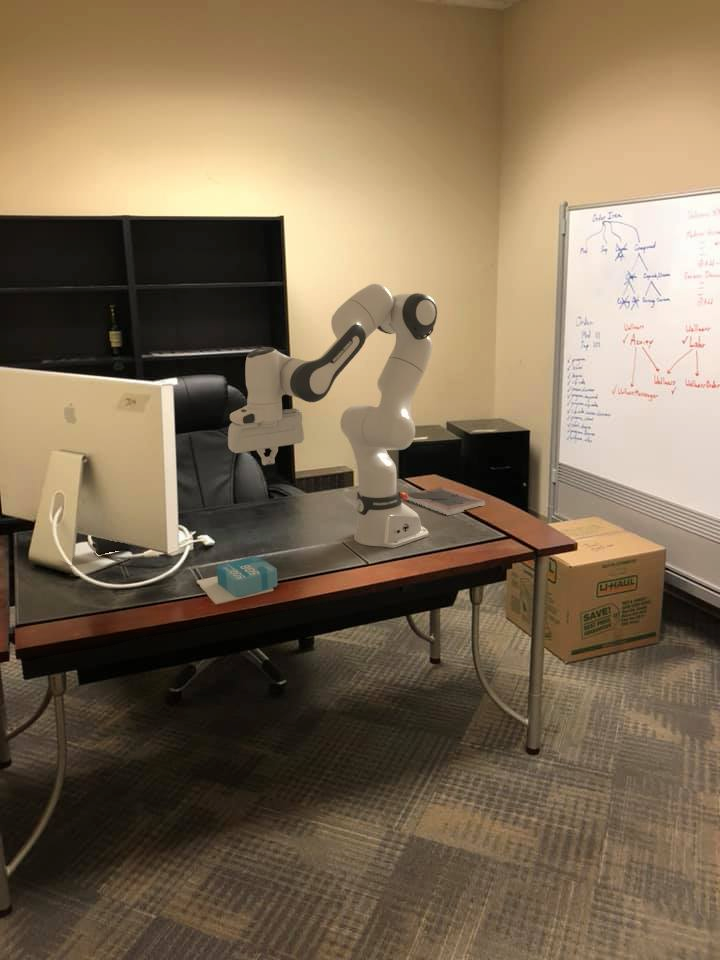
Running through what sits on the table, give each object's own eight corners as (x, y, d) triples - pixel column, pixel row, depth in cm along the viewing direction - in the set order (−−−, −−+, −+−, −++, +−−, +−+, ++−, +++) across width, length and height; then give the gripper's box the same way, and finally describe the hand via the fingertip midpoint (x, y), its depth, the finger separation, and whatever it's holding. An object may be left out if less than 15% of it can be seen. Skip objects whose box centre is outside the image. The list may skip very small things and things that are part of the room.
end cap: (100, 560, 206) (97, 537, 204) (91, 553, 212) (89, 530, 210) (135, 551, 212) (132, 529, 210) (126, 544, 217) (123, 523, 216)
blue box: (279, 569, 185) (235, 581, 179) (280, 586, 187) (236, 598, 180) (256, 555, 195) (214, 566, 188) (257, 571, 196) (215, 582, 189)
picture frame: (405, 501, 255) (448, 517, 238) (405, 494, 254) (448, 510, 237) (441, 492, 264) (484, 507, 247) (441, 485, 263) (485, 500, 247)
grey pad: (251, 570, 198) (251, 568, 198) (273, 590, 185) (273, 588, 185) (196, 582, 191) (196, 580, 191) (215, 604, 178) (215, 602, 178)
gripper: (296, 405, 198) (298, 455, 202) (223, 415, 188) (227, 467, 192) (306, 409, 193) (309, 460, 197) (232, 419, 183) (236, 473, 187)
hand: (268, 464), depth 194 cm, fingers closed
